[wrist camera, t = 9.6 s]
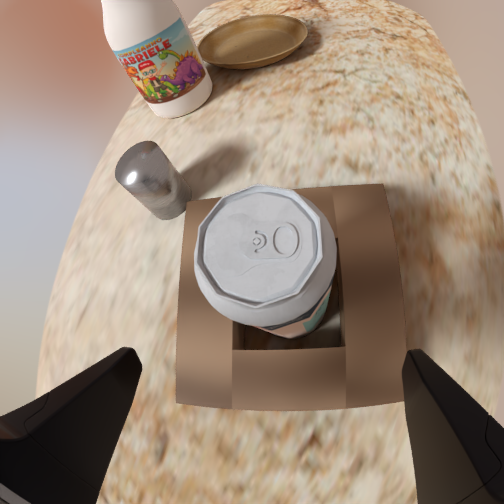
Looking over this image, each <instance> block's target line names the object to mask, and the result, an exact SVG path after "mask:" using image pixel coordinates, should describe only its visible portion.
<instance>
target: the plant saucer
mask: <svg viewBox="0 0 504 504" xmlns="http://www.w3.org/2000/svg"><path fill="white" fill-rule="evenodd" d="M307 35H308V29H307V26H306V25H305V24H304V23H303V22H301V21H300V20H298V19H296V18H293V17H289V16H284V15H276V14H267V15H255V16H249V17H244V18H240V19H237V20H234V21H231V22H228V23H226V24H223V25H221V26H219V27H217V28H215V29H214V30H212V31H211V32H209V33H208V34H207V35H205V36H204V37H203V38H202V39H201V41H200V42H199V44H198V46H197V49H198V51H199V53H200V55H201V58H202V60H204V61H206V62H208V63H210V64H213V65H216V66H219V67H224V68H229V69H252V68H258V67H263V66H266V65H270V64H273V63H275V62H278V61H280V60H282V59H284V58H285V57H287V56H288V55H290V54H291V53H292V52H293V51H295V50H296V49H297V48H298V47H299V46H300V45H301V44H302V42H303V41H304V40H305V38H306V37H307Z"/></svg>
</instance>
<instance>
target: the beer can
mask: <svg viewBox="0 0 504 504" xmlns="http://www.w3.org/2000/svg"><path fill="white" fill-rule="evenodd" d="M336 253H337V247H336V241H335V236H334V233H333V230H332V228H331V226H330V224H329V222H328V220H327V218H326V217H325V215H324V214H323V213H322V212H321V211H320V210H319V209H318V208H317V207H316V206H315V205H314V204H313V203H312V202H311V201H310V200H308V199H307V198H305V197H303V196H302V195H299V194H297V193H296V192H295V191H294V190H289V189H284V188H279V187H273V186H268V185H262V184H255V185H252V186H249V187H247V188H244V189H242V190H239V191H236V192H234V193H231V194H229V195H226V196H224V197H222V198H221V199H220V200H219V201H218V203H217V204H216V205H215V206H214V208H213V209H212V210H211V211H210V213H209V214H208V215H207V216H206V218H205V219H204V220H203V221H202V223H201V224H200V225H199V227H198V236H197V242H196V246H195V251H194V271H195V275H196V279H197V282H198V285H199V287H200V289H201V291H202V293H203V294H204V296H205V297H206V299H207V300H208V302H209V303H210V304H211V305H212V306H213V307H214V308H215V309H216V310H217V311H218V312H219V313H221V314H222V315H224V316H226V317H227V318H229V319H231V320H233V321H236V322H239V323H242V324H245V325H252V326H254V327H257V328H260V329H262V330H265V331H267V332H270V333H272V334H274V335H276V336H278V337H281V338H285V339H295V338H299V337H303V336H305V335H307V334H309V333H311V332H312V331H313V330H315V329H316V328H317V326H318V325H319V324H320V322H321V321H322V319H323V317H324V315H325V312H326V308H327V304H328V300H329V295H330V291H331V287H332V282H333V278H334V273H335V268H336Z"/></svg>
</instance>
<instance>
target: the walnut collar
mask: <svg viewBox="0 0 504 504" xmlns="http://www.w3.org/2000/svg"><path fill="white" fill-rule="evenodd" d="M292 190H294V191H295V192H296V193H297V194H299V195H302V196H303V197H305V198H307V199H308V200H310V201H311V202H312V203H313V204H314V205H315V206H316V207H317V208H318V209H319V210H320V211H321V212H322V213H323V214H324V215H325V217H326V218H327V220H328V222H329V224H330V226H331V228H332V230H333V233H334V236H335V241H336V247H337V253H336V266H337V278H338V292H339V309H340V330H341V347H331V348H315V349H291V350H244V324H242V323H239V322H236V321H233V320H231V319H229V318H227V317H226V316H224V315H222V314H221V313H219V312H218V311H217V310H216V309H215V308H214V307H213V306H212V305H211V304H210V303H209V302H208V300H207V299H206V297H205V296H204V294H203V293H202V291H201V289H200V287H199V285H198V282H197V279H196V275H195V271H194V251H195V246H196V242H197V236H198V227H199V225H200V224H201V223H202V221H203V220H204V219H205V218H206V216H207V215H208V214H209V213H210V211H211V210H212V209H213V208H214V206H215V205H216V204H217V203H218V201H219V200H220V199H221V198H222V197H218V198H210V199H203V200H196V201H189V202H187V205H186V214H185V223H184V233H183V243H182V255H181V267H180V281H179V296H178V316H177V342H176V403H179V404H187V405H194V406H203V407H212V408H224V409H237V410H256V411H314V410H333V409H346V408H357V407H366V406H375V405H382V404H389V403H396V402H402V401H404V392H403V382H402V367H403V364H404V360H405V357H406V353H407V348H406V328H405V314H404V302H403V292H402V284H401V275H400V268H399V261H398V254H397V248H396V242H395V237H394V231H393V226H392V221H391V216H390V211H389V206H388V202H387V197H386V193H385V189H384V185H383V184H365V185H347V186H331V187H317V188H304V189H292Z"/></svg>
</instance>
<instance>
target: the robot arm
mask: <svg viewBox="0 0 504 504" xmlns="http://www.w3.org/2000/svg"><path fill="white" fill-rule="evenodd" d="M141 372H142V363H141V361H140V359H139V357H138V355H137V353H136V351H135V350H134V349H133V348H130V347H122V348H120V349H119V350H117V351H115V352H114V353H112V354H110V355H109V356H107V357H106V358H104V359H102V360H101V361H99V362H97V363H96V364H94V365H92V366H91V367H89V368H87V369H86V370H84V371H83V372H81V373H79V374H78V375H76V376H74V377H73V378H71V379H69V380H68V381H66V382H64V383H63V384H61V385H59V386H58V387H56V388H54V389H53V390H51V391H50V392H48V393H46V394H44V395H43V396H41V397H39V398H37V399H36V400H34V401H32V402H30V403H28V404H26V405H24V406H22V407H20V408H18V409H16V410H14V411H12V412H10V413H7V414H5V415H3V416H0V504H96V502H97V499H98V496H99V493H100V492H99V491H100V489H101V486H102V483H103V481H104V478H105V475H106V472H107V469H108V466H109V464H110V461H111V458H112V455H113V453H114V450H115V447H116V444H117V442H118V439H119V437H120V434H121V431H122V429H123V426H124V424H125V421H126V418H127V416H128V413H129V411H130V408H131V406H132V403H133V399H134V396H135V392H136V389H137V385H138V382H139V379H140V375H141ZM402 382H403V392H404V402H405V414H406V421H407V427H408V432H409V438H410V444H411V450H412V457H413V464H414V471H415V479H416V489H417V500H418V504H504V428H503V427H502V426H501V425H500V424H499V423H498V422H497V421H496V420H495V419H494V418H493V417H492V416H491V415H489V413H488V412H487V411H486V410H485V409H484V408H483V407H482V406H481V405H480V404H479V403H478V402H477V401H475V400H474V399H473V398H472V397H471V396H470V395H469V394H468V393H467V392H466V391H465V390H464V389H463V388H462V387H461V386H460V385H459V384H458V383H457V382H456V381H455V380H454V379H452V378H451V377H450V376H449V375H448V374H447V373H446V372H445V371H444V370H443V369H442V368H441V367H440V366H439V365H437V364H436V363H435V362H434V361H433V360H432V359H431V358H430V357H429V356H428V355H427V354H425V353H424V352H423V351H422V350H421V349H414V350H409V351H408V352H407V353H406V357H405V360H404V364H403V367H402Z"/></svg>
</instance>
